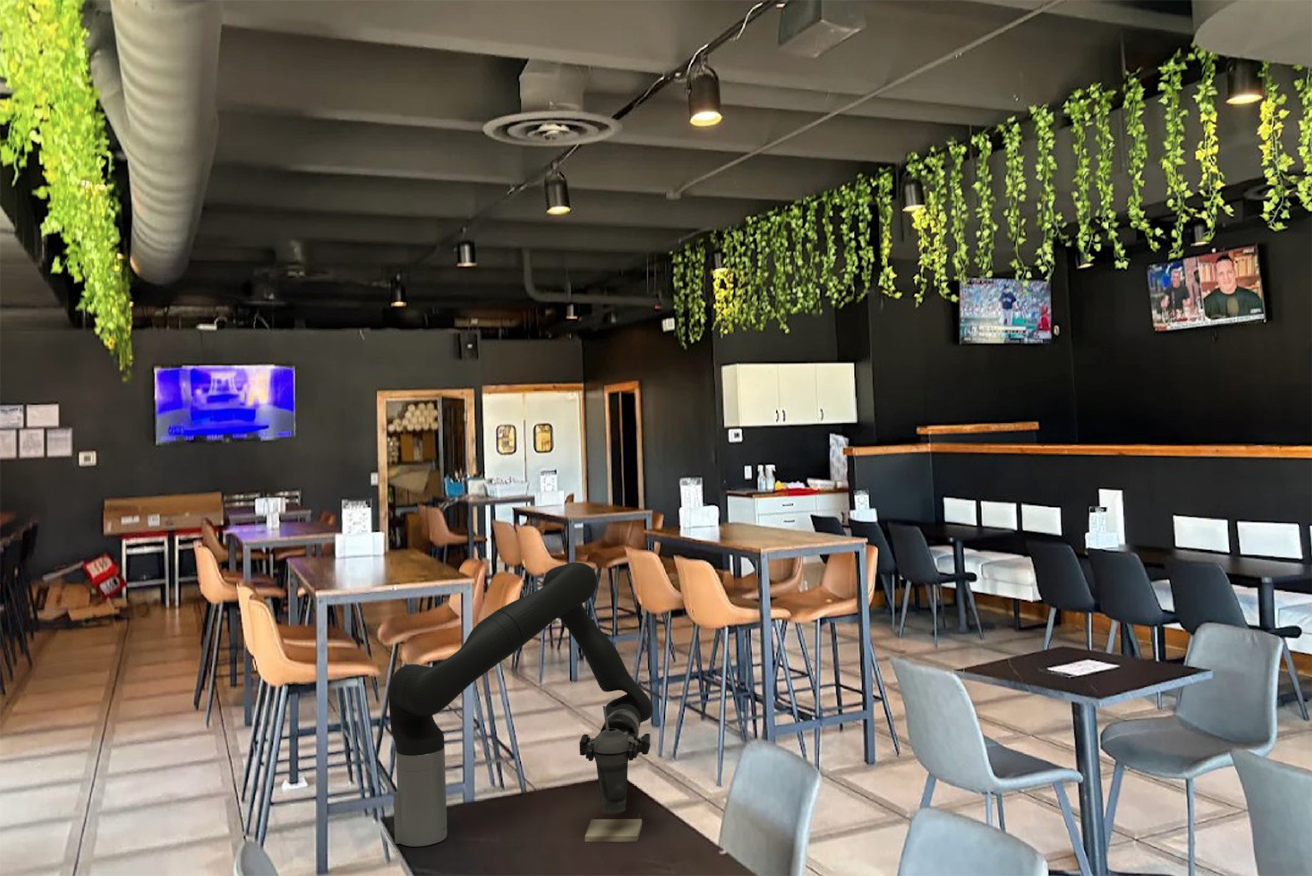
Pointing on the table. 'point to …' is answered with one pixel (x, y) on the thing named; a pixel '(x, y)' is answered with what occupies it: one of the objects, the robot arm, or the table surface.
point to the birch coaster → (613, 830)
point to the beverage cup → (612, 767)
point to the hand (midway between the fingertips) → (610, 755)
